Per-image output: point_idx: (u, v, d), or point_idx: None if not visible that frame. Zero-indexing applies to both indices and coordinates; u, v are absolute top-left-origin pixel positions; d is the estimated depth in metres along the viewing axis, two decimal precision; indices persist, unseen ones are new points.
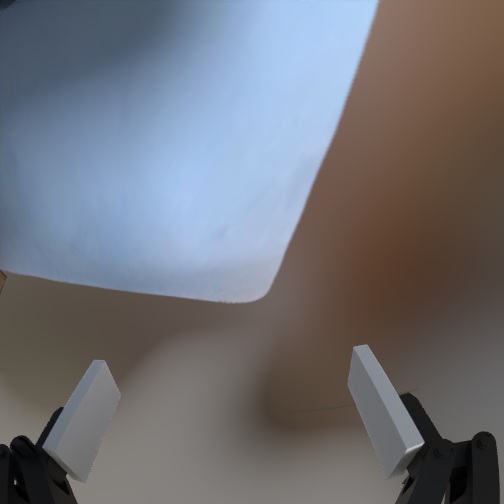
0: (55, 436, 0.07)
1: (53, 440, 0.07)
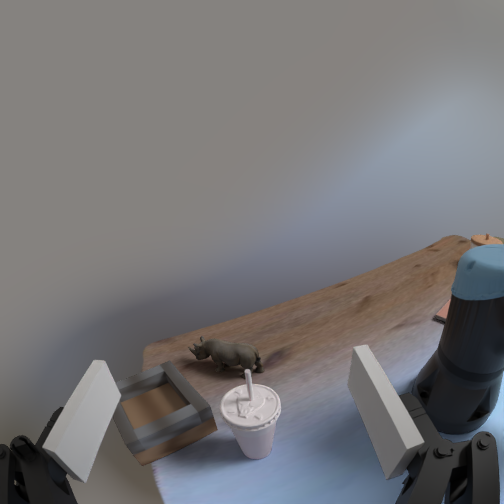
0: (55, 436, 0.07)
1: (53, 440, 0.07)
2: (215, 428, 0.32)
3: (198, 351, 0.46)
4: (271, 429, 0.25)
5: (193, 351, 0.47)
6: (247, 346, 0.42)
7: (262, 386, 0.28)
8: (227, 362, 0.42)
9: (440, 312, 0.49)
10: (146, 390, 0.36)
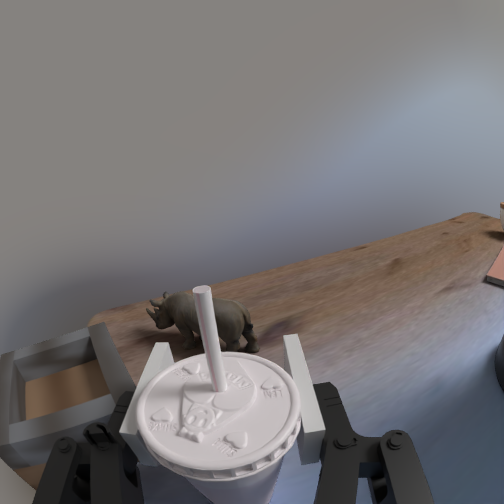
0: (133, 418, 0.09)
1: (131, 423, 0.09)
2: None
3: (158, 314, 0.29)
4: (274, 469, 0.08)
5: (152, 315, 0.30)
6: (230, 302, 0.25)
7: (251, 356, 0.12)
8: (197, 330, 0.26)
9: (491, 273, 0.33)
10: (63, 367, 0.19)
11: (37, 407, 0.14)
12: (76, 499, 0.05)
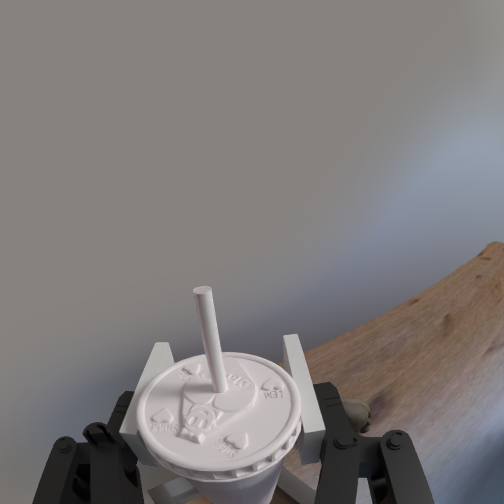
0: (133, 418, 0.09)
1: (131, 423, 0.09)
2: None
3: None
4: (275, 470, 0.08)
5: None
6: (360, 404, 0.26)
7: (252, 357, 0.12)
8: None
9: None
10: None
11: None
12: (76, 499, 0.05)
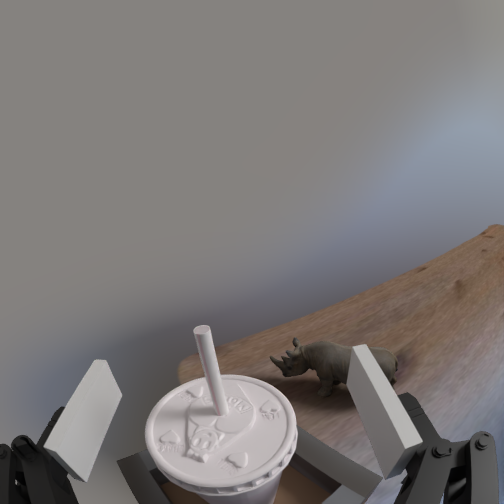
0: (56, 436, 0.07)
1: (54, 440, 0.07)
2: None
3: (290, 363, 0.26)
4: (273, 482, 0.09)
5: (278, 363, 0.28)
6: (385, 351, 0.22)
7: (251, 379, 0.12)
8: None
9: None
10: None
11: None
12: (22, 501, 0.04)
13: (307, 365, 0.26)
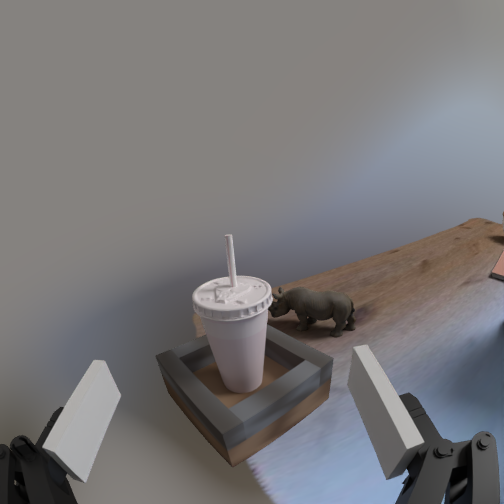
0: (55, 436, 0.07)
1: (53, 440, 0.07)
2: (327, 396, 0.24)
3: (276, 305, 0.39)
4: (260, 330, 0.21)
5: None
6: (342, 293, 0.35)
7: (248, 277, 0.25)
8: (316, 315, 0.35)
9: (495, 270, 0.43)
10: None
11: (217, 393, 0.23)
12: (21, 501, 0.04)
13: (288, 305, 0.38)
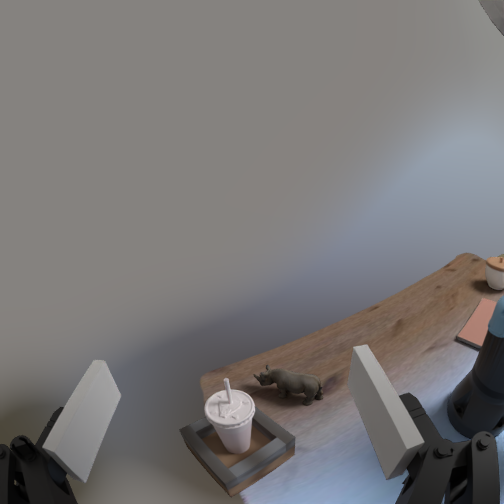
0: (55, 436, 0.07)
1: (53, 440, 0.07)
2: (293, 454, 0.33)
3: (263, 378, 0.48)
4: (247, 428, 0.30)
5: (258, 378, 0.49)
6: (312, 377, 0.44)
7: (240, 391, 0.34)
8: (292, 391, 0.44)
9: (461, 334, 0.52)
10: None
11: (220, 453, 0.32)
12: (21, 501, 0.04)
13: (272, 380, 0.47)
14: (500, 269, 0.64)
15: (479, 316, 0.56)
